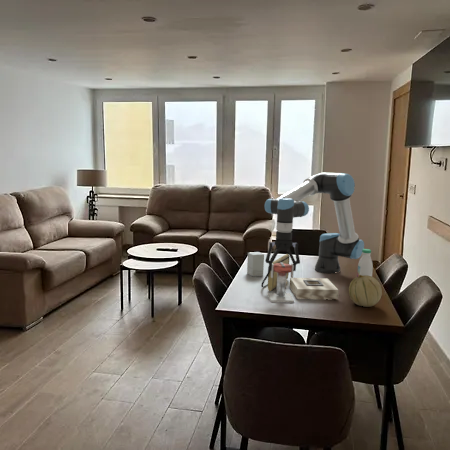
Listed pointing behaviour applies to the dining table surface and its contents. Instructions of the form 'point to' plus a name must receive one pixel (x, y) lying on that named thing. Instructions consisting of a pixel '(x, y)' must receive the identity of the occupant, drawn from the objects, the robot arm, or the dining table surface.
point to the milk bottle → (365, 263)
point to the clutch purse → (275, 273)
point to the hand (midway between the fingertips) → (281, 277)
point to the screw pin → (281, 277)
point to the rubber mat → (280, 298)
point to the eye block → (313, 288)
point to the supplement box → (255, 264)
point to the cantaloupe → (365, 291)
